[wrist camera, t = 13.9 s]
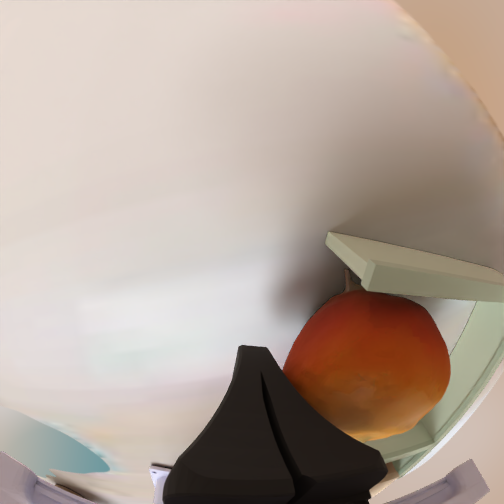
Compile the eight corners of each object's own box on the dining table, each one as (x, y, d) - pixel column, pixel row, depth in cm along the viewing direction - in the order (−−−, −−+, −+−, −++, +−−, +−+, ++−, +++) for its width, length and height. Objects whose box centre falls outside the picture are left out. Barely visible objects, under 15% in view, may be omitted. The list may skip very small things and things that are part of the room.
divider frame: (386, 447, 20) (400, 478, 16) (248, 463, 18) (252, 504, 14) (494, 267, 14) (535, 291, 10) (328, 228, 12) (375, 264, 8)
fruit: (453, 272, 12) (483, 416, 6) (366, 334, 17) (368, 445, 12) (341, 211, 10) (356, 435, 5) (263, 304, 16) (242, 440, 11)
